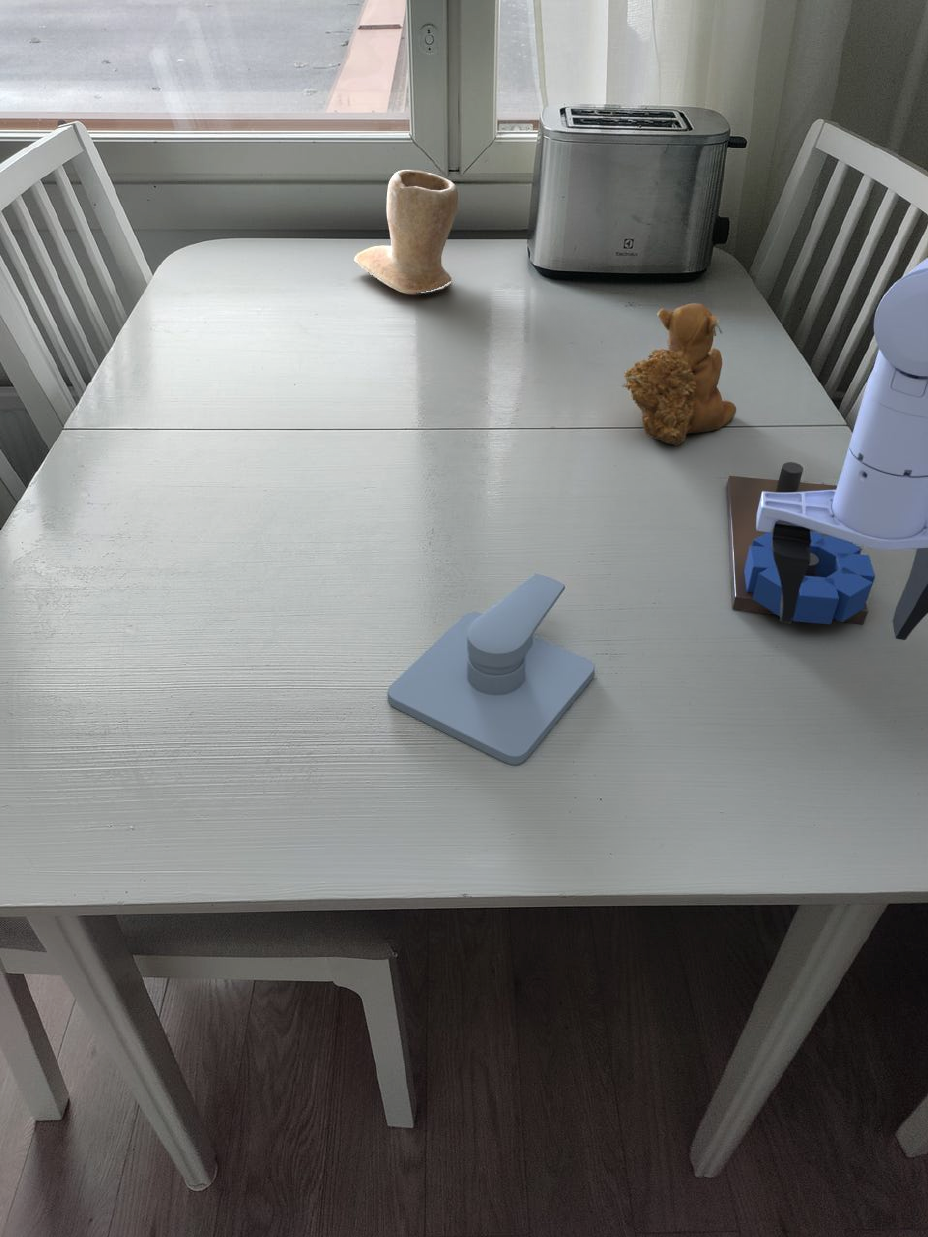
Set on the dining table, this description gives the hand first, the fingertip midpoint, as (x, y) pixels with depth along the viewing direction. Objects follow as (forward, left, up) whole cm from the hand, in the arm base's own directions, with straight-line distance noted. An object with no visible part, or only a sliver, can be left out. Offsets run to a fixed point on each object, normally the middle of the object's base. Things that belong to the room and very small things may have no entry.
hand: (841, 622), depth 67 cm
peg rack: (0, -22, -9) cm, 24 cm away
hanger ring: (0, -14, -8) cm, 16 cm away
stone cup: (+50, -81, -10) cm, 96 cm away
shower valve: (+24, 0, -10) cm, 26 cm away
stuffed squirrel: (+11, -44, -10) cm, 46 cm away
